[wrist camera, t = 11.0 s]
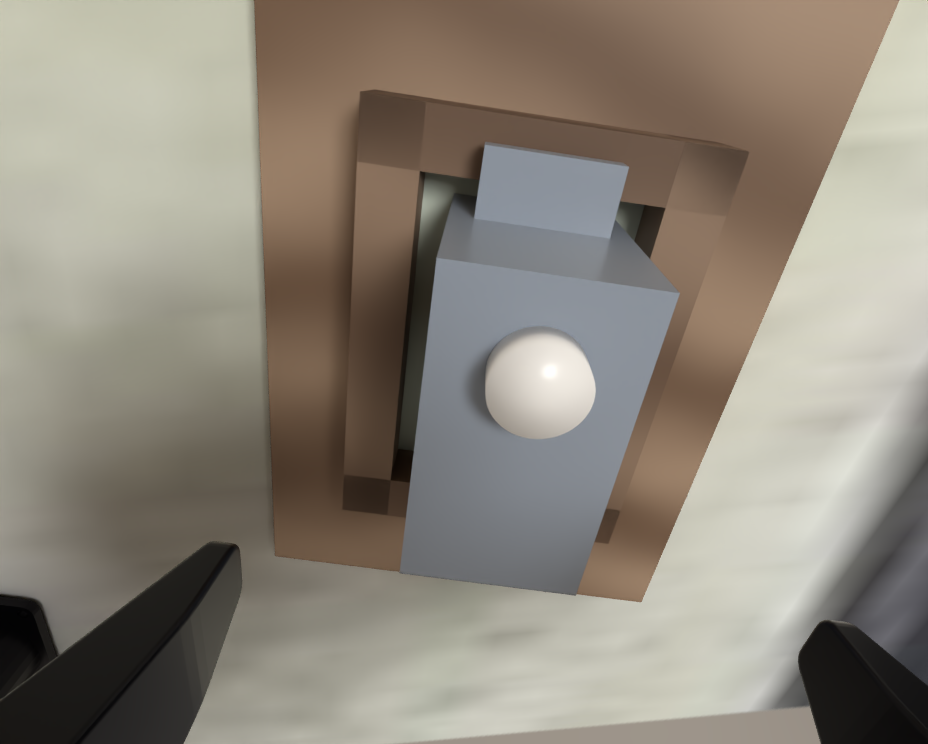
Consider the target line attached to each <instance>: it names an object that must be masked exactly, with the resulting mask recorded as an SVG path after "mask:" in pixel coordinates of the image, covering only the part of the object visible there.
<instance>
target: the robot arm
mask: <svg viewBox="0 0 928 744" xmlns="http://www.w3.org/2000/svg"><path fill="white" fill-rule="evenodd" d="M241 588H242V573H241V560H240V550H239V547H238V546H237V545H236V544H232V543H224V542H217V541H212V542H209V543H207V544H205V545H204V546H203V547H201V548H200V549H199V550H197V551H196V552H195V553H193V554H192V555H191V556H189V557H188V558H187V559H185V560H184V561H183V562H181V563H180V564H179V565H177V566H176V567H175V568H174V569H172V570H171V571H170V572H168V573H167V574H166V575H164V576H163V577H162V578H160V579H159V580H158V581H156V582H155V583H154V584H152V585H151V586H150V587H148V588H147V589H146V590H145V591H143V592H142V593H141V594H139V595H138V596H137V597H135V598H134V599H133V600H131V601H130V602H129V603H127V604H126V605H125V606H123V607H122V608H121V609H119V610H118V611H117V612H116V613H114V614H113V615H112V616H110V617H109V618H108V619H106V620H105V621H104V622H102V623H101V624H100V625H98V626H97V627H96V628H94V629H93V630H92V631H90V632H89V633H88V634H86V635H85V636H84V637H83V638H81V639H80V640H79V641H77V642H76V643H75V644H73V645H72V646H71V647H69V648H68V649H67V650H65V651H64V652H63V653H61V654H60V655H59V656H56V654H55V651H54V648H53V645H52V642H51V639H50V636H49V633H48V630H47V627H46V624H45V621H44V618H43V616H42V613H41V610H40V608H39V606H38V605H37V604H36V603H34V602H32V601H29V600H24V599H16V598H8V597H0V744H184V741H185V739H186V737H187V735H188V733H189V731H190V729H191V727H192V724H193V722H194V720H195V718H196V716H197V713H198V711H199V709H200V706H201V704H202V702H203V699H204V697H205V694H206V691H207V689H208V686H209V683H210V680H211V677H212V675H213V672H214V669H215V666H216V663H217V660H218V657H219V654H220V652H221V649H222V646H223V643H224V640H225V637H226V634H227V632H228V629H229V626H230V623H231V620H232V617H233V614H234V612H235V609H236V606H237V603H238V600H239V597H240V593H241ZM798 665H799V670H800V674H801V677H802V680H803V684H804V687H805V691H806V694H807V698H808V701H809V705H810V708H811V711H812V715H813V718H814V722H815V725H816V729H817V732H818V735H819V739H820V742H821V744H928V686H927V685H926V684H925V683H924V682H923V681H921V680H920V679H919V678H918V677H917V676H915V675H914V674H913V673H912V672H910V671H909V670H908V669H907V668H906V667H904V666H903V665H902V664H901V663H900V662H898V661H897V660H896V659H895V658H894V657H892V656H891V655H890V654H889V653H888V652H886V651H885V650H884V649H883V648H882V647H880V646H879V645H878V644H877V643H876V642H874V641H873V640H872V639H871V638H870V637H868V636H867V635H866V634H865V633H864V632H862V631H861V630H860V629H859V628H857V627H856V626H855V625H853V624H850V623H847V622H841V621H833V620H823V621H821V622H820V623H819V624H818V625H817V626H816V628H815V629H814V630H813V632H812V633H811V635H810V636H809V638H808V639H807V641H806V642H805V644H804V645H803V647H802V648H801V650H800V652H799V656H798Z"/></svg>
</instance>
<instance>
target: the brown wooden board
mask: <svg viewBox="0 0 928 744" xmlns="http://www.w3.org/2000/svg"><path fill="white" fill-rule="evenodd" d="M898 2H899V0H254V5H255V32H256V59H257V86H258V113H259V140H260V167H261V194H262V220H263V247H264V274H265V301H266V328H267V355H268V382H269V409H270V436H271V463H272V490H273V517H274V543H275V556H278V557H286V558H294V559H302V560H310V561H318V562H326V563H334V564H342V565H350V566H358V567H366V568H374V569H382V570H390V571H398V572H400V565H401V556H402V548H403V539H404V531H405V522H406V514H407V505H408V497H409V488H410V480H411V471H412V463H413V454H414V446H415V437H416V429H417V420H418V412H419V403H420V395H421V386H422V378H423V369H424V361H425V352H426V344H427V335H428V327H429V318H430V310H431V301H432V293H433V284H434V276H435V267H436V259H437V254H438V251H439V247H440V243H441V240H442V236H443V233H444V229H445V225H446V222H447V218H448V214H449V211H450V207H451V203H452V200H453V196H454V193H457V194H464V195H470V196H477V193H478V186H479V180H480V173H481V166H482V159H483V152H484V145H485V142H490V143H497V144H504V145H510V146H517V147H523V148H530V149H536V150H543V151H549V152H556V153H562V154H569V155H575V156H582V157H588V158H595V159H601V160H608V161H614V162H621V163H624V164H626V165H627V166H629V169H628V173H627V177H626V181H625V184H624V188H623V192H622V196H621V199H620V203H619V207H618V211H617V214H616V218H615V220H616V221H617V222H618V223H619V224H620V226H621V227H622V228H623V229H624V230H625V231H626V232H627V234H628V235H629V236H630V237H631V238H632V239H633V240H634V242H635V243H636V244H637V245H638V246H639V247H640V248H641V249H642V251H643V252H644V253H645V254H646V255H647V256H648V257H649V259H650V260H651V261H652V262H653V263H654V264H655V265H656V267H657V268H658V269H659V270H660V271H661V272H662V273H663V275H664V276H665V277H666V278H667V279H668V280H669V281H670V283H671V284H672V285H673V286H674V287H675V288H676V289H677V291H678V292H679V293H680V294H679V297H678V300H677V303H676V306H675V309H674V312H673V315H672V318H671V321H670V324H669V326H668V329H667V332H666V335H665V338H664V341H663V344H662V347H661V350H660V353H659V355H658V358H657V361H656V364H655V367H654V370H653V373H652V376H651V379H650V382H649V384H648V387H647V390H646V393H645V396H644V399H643V402H642V405H641V408H640V411H639V414H638V416H637V419H636V422H635V425H634V428H633V431H632V434H631V437H630V440H629V443H628V445H627V448H626V451H625V454H624V457H623V460H622V463H621V466H620V469H619V472H618V474H617V477H616V480H615V483H614V486H613V489H612V492H611V495H610V498H609V501H608V504H607V506H606V509H605V512H604V515H603V518H602V521H601V524H600V527H599V530H598V533H597V535H596V538H595V541H594V544H593V547H592V550H591V553H590V556H589V559H588V562H587V564H586V567H585V570H584V573H583V576H582V579H581V582H580V585H579V588H578V591H577V594H580V595H588V596H596V597H604V598H612V599H620V600H628V601H636V602H642V599H643V597H644V595H645V592H646V590H647V588H648V585H649V583H650V581H651V578H652V576H653V574H654V571H655V569H656V567H657V564H658V562H659V560H660V557H661V555H662V553H663V550H664V548H665V546H666V543H667V541H668V539H669V536H670V534H671V532H672V529H673V527H674V525H675V522H676V520H677V518H678V515H679V513H680V511H681V508H682V506H683V504H684V501H685V499H686V497H687V494H688V492H689V490H690V487H691V485H692V483H693V480H694V478H695V476H696V473H697V471H698V469H699V466H700V464H701V462H702V459H703V457H704V455H705V452H706V450H707V448H708V445H709V443H710V441H711V438H712V436H713V434H714V431H715V429H716V427H717V424H718V422H719V420H720V417H721V415H722V413H723V410H724V408H725V406H726V403H727V401H728V399H729V396H730V394H731V392H732V389H733V387H734V385H735V382H736V380H737V378H738V375H739V373H740V371H741V368H742V366H743V364H744V361H745V359H746V357H747V354H748V352H749V350H750V347H751V345H752V343H753V340H754V338H755V336H756V333H757V331H758V329H759V326H760V324H761V322H762V319H763V317H764V315H765V312H766V310H767V308H768V305H769V303H770V301H771V298H772V296H773V294H774V291H775V289H776V287H777V284H778V282H779V280H780V277H781V275H782V273H783V270H784V268H785V266H786V263H787V261H788V259H789V256H790V254H791V252H792V249H793V247H794V245H795V242H796V240H797V238H798V235H799V233H800V231H801V228H802V226H803V224H804V221H805V219H806V217H807V214H808V212H809V210H810V207H811V205H812V203H813V200H814V198H815V196H816V193H817V191H818V189H819V186H820V184H821V182H822V179H823V177H824V175H825V172H826V170H827V168H828V165H829V163H830V161H831V158H832V156H833V154H834V151H835V149H836V147H837V144H838V142H839V140H840V137H841V135H842V133H843V130H844V128H845V126H846V123H847V121H848V119H849V116H850V114H851V112H852V109H853V107H854V105H855V102H856V100H857V98H858V95H859V93H860V91H861V88H862V86H863V84H864V81H865V79H866V77H867V74H868V72H869V70H870V67H871V65H872V63H873V60H874V58H875V56H876V53H877V51H878V49H879V46H880V44H881V42H882V39H883V37H884V35H885V32H886V30H887V28H888V25H889V23H890V21H891V18H892V16H893V14H894V11H895V9H896V7H897V4H898Z"/></svg>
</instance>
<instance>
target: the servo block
mask: <svg viewBox="0 0 928 744" xmlns="http://www.w3.org/2000/svg"><path fill="white" fill-rule="evenodd" d="M628 169H629V166H627V165H626V164H624V163H621V162H614V161H608V160H601V159H595V158H588V157H582V156H575V155H569V154H562V153H556V152H549V151H543V150H536V149H530V148H523V147H517V146H510V145H504V144H497V143H490V142H485V145H484V152H483V159H482V166H481V173H480V180H479V186H478V193H477V196H470V195H464V194H457V193H454V196H453V200H452V203H451V207H450V211H449V214H448V218H447V222H446V225H445V229H444V233H443V236H442V240H441V243H440V247H439V251H438V254H437V259H436V267H435V276H434V284H433V293H432V301H431V310H430V318H429V327H428V335H427V344H426V352H425V361H424V369H423V378H422V386H421V395H420V403H419V412H418V420H417V429H416V437H415V446H414V454H413V463H412V471H411V480H410V488H409V497H408V505H407V514H406V522H405V531H404V539H403V548H402V556H401V565H400V573H402V574H410V575H418V576H426V577H434V578H442V579H450V580H457V581H465V582H473V583H481V584H489V585H497V586H505V587H513V588H520V589H528V590H536V591H544V592H552V593H560V594H568V595H576V594H577V591H578V588H579V585H580V582H581V579H582V576H583V573H584V570H585V567H586V564H587V562H588V559H589V556H590V553H591V550H592V547H593V544H594V541H595V538H596V535H597V533H598V530H599V527H600V524H601V521H602V518H603V515H604V512H605V509H606V506H607V504H608V501H609V498H610V495H611V492H612V489H613V486H614V483H615V480H616V477H617V474H618V472H619V469H620V466H621V463H622V460H623V457H624V454H625V451H626V448H627V445H628V443H629V440H630V437H631V434H632V431H633V428H634V425H635V422H636V419H637V416H638V414H639V411H640V408H641V405H642V402H643V399H644V396H645V393H646V390H647V387H648V384H649V382H650V379H651V376H652V373H653V370H654V367H655V364H656V361H657V358H658V355H659V353H660V350H661V347H662V344H663V341H664V338H665V335H666V332H667V329H668V326H669V324H670V321H671V318H672V315H673V312H674V309H675V306H676V303H677V300H678V297H679V294H680V293H679V292H678V291H677V289H676V288H675V287H674V286H673V285H672V284H671V283H670V281H669V280H668V279H667V278H666V277H665V276H664V275H663V273H662V272H661V271H660V270H659V269H658V268H657V267H656V265H655V264H654V263H653V262H652V261H651V260H650V259H649V257H648V256H647V255H646V254H645V253H644V252H643V251H642V249H641V248H640V247H639V246H638V245H637V244H636V243H635V242H634V240H633V239H632V238H631V237H630V236H629V235H628V234H627V232H626V231H625V230H624V229H623V228H622V227H621V226H620V224H619V223H618V222H617V221H616V220H615V218H616V214H617V211H618V207H619V203H620V199H621V196H622V192H623V188H624V184H625V181H626V177H627V173H628Z"/></svg>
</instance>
